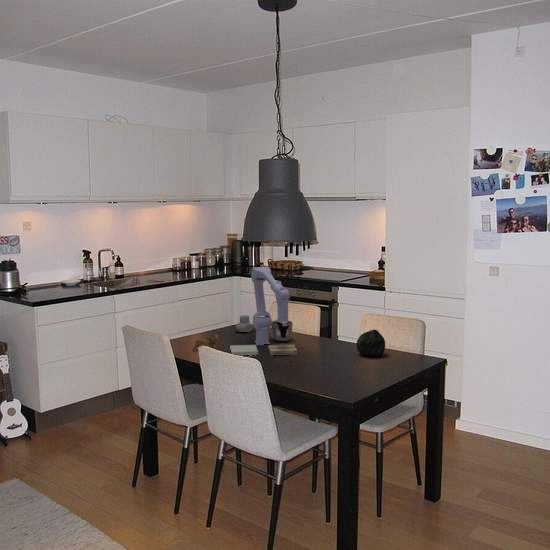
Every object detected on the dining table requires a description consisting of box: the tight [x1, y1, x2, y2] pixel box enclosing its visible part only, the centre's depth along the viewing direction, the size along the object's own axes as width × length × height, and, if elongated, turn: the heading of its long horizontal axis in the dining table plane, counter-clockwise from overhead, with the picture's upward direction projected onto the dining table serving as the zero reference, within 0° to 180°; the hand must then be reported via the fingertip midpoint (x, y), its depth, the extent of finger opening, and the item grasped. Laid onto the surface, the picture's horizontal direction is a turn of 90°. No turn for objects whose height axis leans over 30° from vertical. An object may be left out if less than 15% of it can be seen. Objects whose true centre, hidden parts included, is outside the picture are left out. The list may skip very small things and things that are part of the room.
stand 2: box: [267, 343, 298, 357], centre depth 328 cm, size 14×14×2 cm
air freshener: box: [235, 314, 254, 333], centre depth 375 cm, size 11×8×10 cm
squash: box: [356, 329, 386, 357], centre depth 321 cm, size 14×15×15 cm
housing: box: [276, 329, 289, 341], centre depth 326 cm, size 4×6×5 cm
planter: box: [270, 320, 293, 342], centre depth 353 cm, size 12×12×11 cm
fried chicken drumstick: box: [192, 333, 220, 351], centre depth 330 cm, size 15×5×9 cm, turn 99°
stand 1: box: [229, 344, 259, 357], centre depth 326 cm, size 14×14×2 cm
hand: (282, 336), depth 326 cm, fingers closed on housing, 4 cm apart
